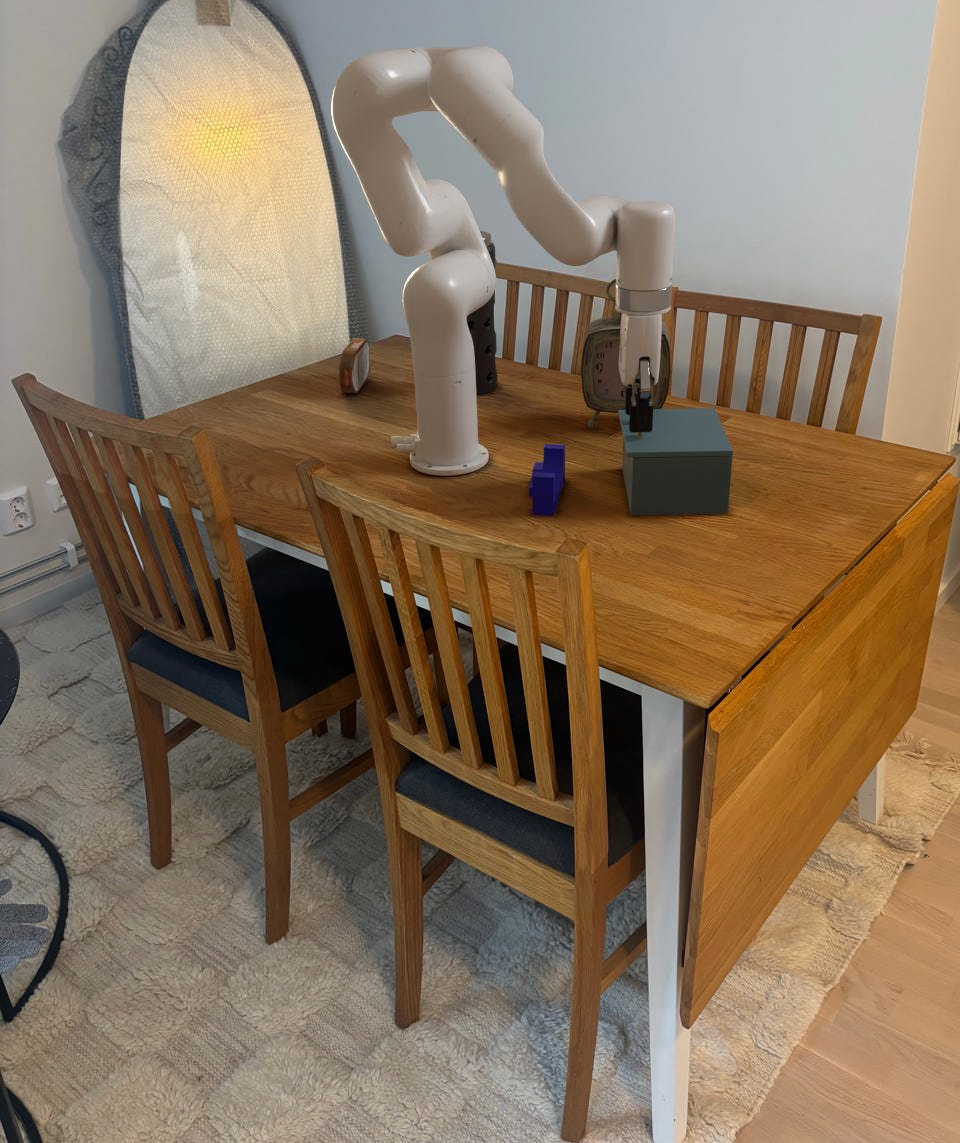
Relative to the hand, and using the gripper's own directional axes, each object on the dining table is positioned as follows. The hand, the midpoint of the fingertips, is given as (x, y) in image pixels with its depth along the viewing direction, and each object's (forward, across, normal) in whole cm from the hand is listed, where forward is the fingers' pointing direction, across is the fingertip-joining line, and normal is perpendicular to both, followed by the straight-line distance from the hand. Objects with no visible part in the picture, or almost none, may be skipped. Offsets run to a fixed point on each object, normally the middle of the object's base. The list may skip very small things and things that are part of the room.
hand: (638, 421), depth 154 cm
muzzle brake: (+11, -48, -27) cm, 56 cm away
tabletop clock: (+11, -28, 0) cm, 30 cm away
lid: (+2, 0, +5) cm, 5 cm away
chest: (+11, 0, +5) cm, 12 cm away
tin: (+11, -50, -49) cm, 70 cm away
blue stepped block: (+11, +2, -14) cm, 18 cm away
